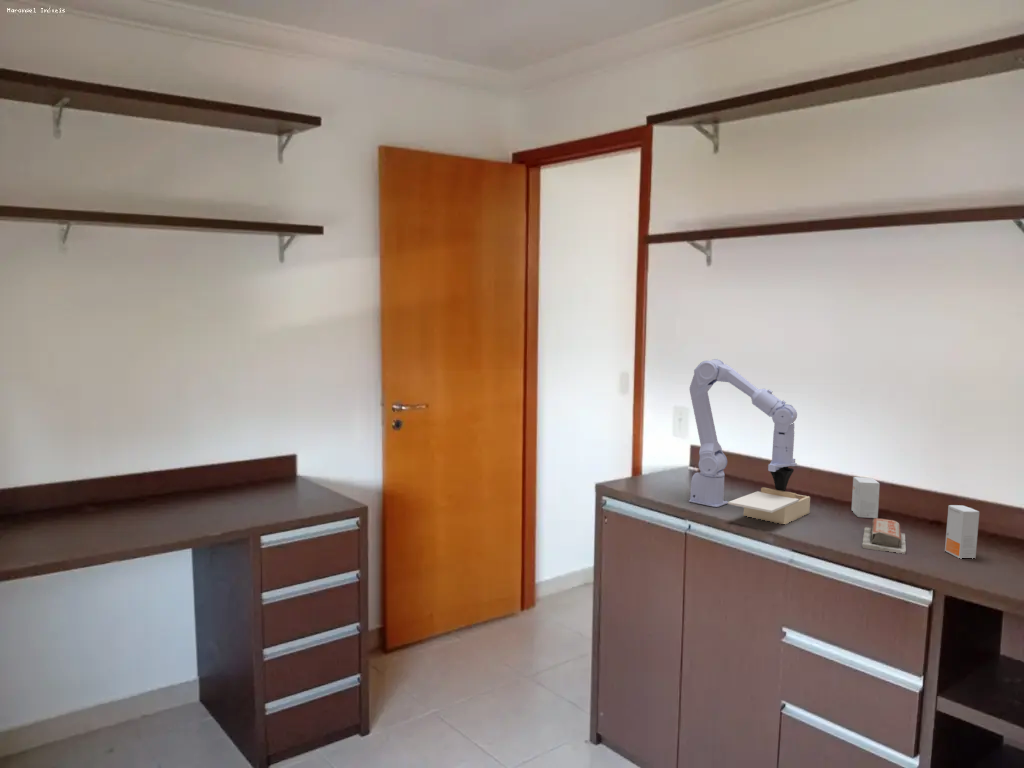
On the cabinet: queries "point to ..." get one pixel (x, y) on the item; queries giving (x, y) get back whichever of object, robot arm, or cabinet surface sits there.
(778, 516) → the box
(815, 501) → the cabinet surface
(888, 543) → the packaged product
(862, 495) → the small box
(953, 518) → the skincare box
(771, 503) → the lid
